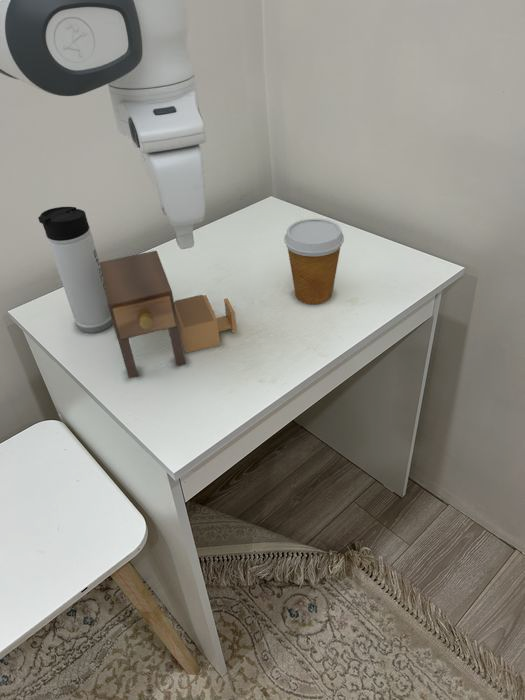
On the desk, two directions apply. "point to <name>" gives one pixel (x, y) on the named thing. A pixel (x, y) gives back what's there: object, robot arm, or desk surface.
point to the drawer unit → (140, 303)
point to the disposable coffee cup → (313, 258)
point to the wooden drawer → (202, 322)
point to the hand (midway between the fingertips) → (177, 228)
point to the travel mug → (78, 266)
